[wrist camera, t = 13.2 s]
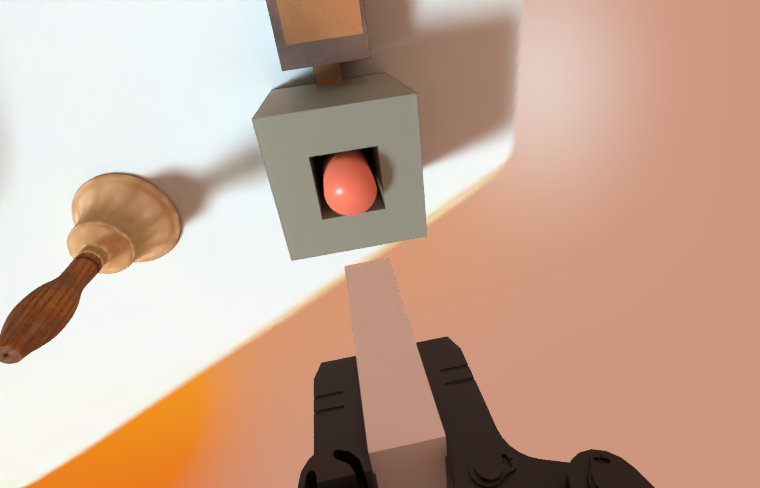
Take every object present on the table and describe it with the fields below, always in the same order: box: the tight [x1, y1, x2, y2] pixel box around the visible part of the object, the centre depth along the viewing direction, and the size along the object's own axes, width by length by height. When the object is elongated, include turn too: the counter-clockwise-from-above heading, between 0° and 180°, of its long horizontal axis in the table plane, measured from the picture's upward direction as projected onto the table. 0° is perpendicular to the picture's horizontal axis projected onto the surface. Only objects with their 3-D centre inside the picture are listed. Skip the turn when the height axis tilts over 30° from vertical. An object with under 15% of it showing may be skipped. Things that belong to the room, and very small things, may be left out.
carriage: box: [266, 0, 371, 71], centre depth 22 cm, size 7×6×13 cm
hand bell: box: [0, 174, 181, 364], centre depth 27 cm, size 8×8×16 cm
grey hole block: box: [252, 73, 427, 261], centre depth 28 cm, size 9×9×11 cm
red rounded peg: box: [322, 148, 377, 216], centre depth 26 cm, size 3×3×8 cm
